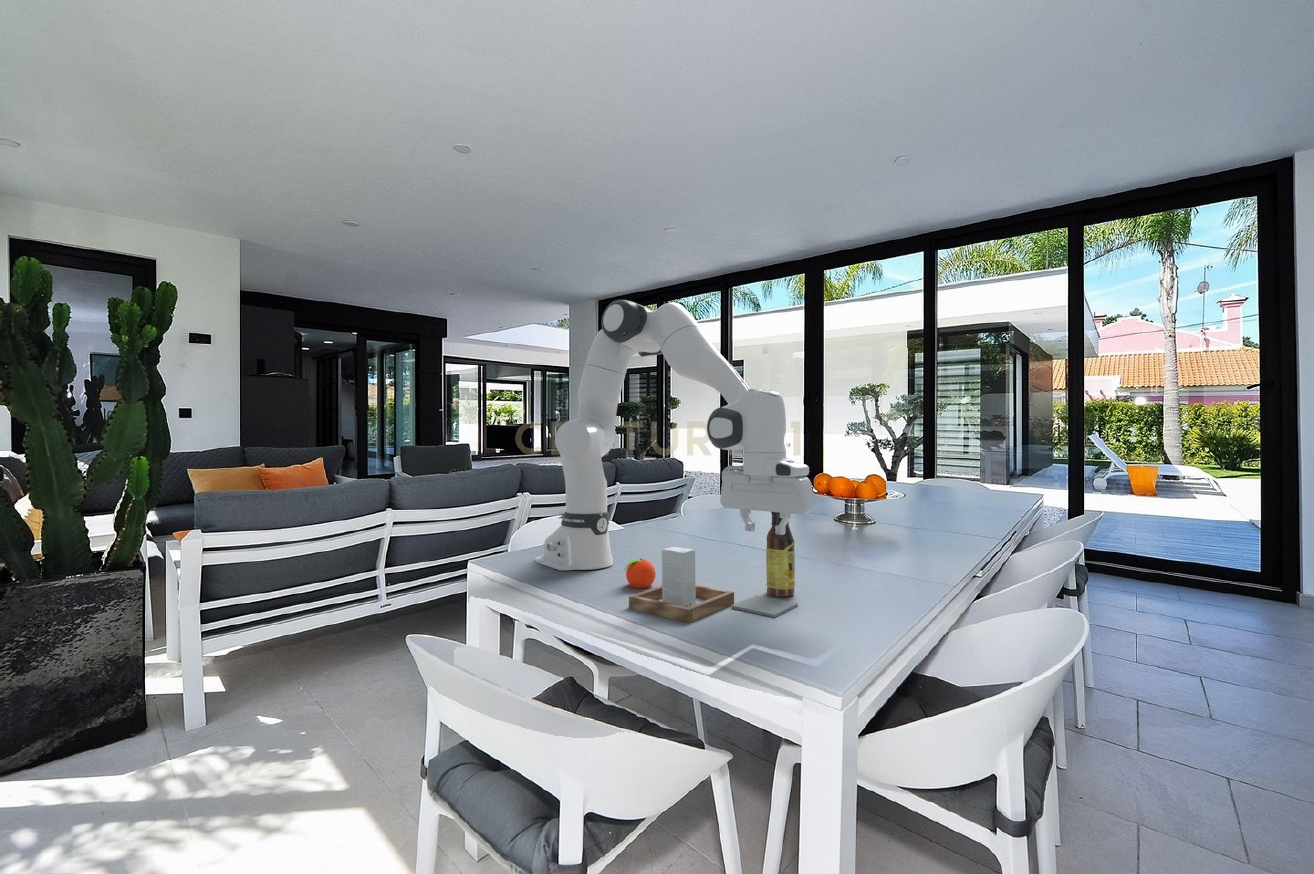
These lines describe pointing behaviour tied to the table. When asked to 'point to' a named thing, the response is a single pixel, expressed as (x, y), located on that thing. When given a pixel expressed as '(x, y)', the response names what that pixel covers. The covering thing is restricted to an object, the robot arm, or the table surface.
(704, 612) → the frame
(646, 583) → the clementine
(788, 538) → the sauce bottle
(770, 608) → the slate pad
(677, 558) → the skincare box
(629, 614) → the table surface
